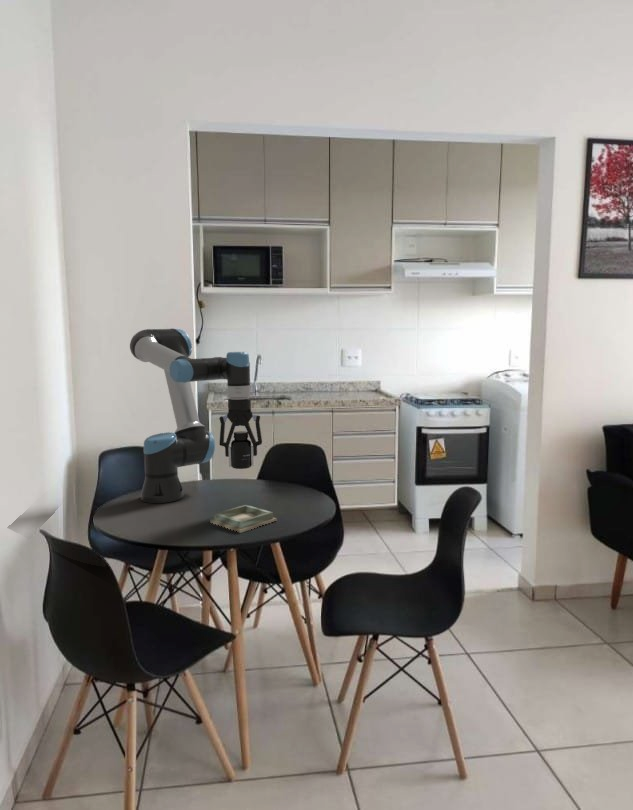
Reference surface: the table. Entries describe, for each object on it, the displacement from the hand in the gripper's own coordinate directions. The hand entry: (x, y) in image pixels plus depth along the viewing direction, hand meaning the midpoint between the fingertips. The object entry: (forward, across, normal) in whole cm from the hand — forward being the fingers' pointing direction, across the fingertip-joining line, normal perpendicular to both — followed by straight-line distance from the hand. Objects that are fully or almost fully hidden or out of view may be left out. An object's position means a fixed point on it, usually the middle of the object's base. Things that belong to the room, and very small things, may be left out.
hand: (241, 465), depth 209 cm
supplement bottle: (+1, 0, 0) cm, 1 cm away
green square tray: (+15, +1, -14) cm, 21 cm away
